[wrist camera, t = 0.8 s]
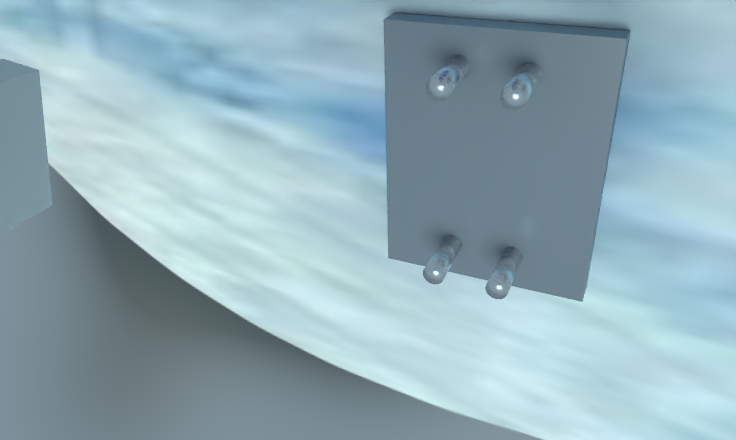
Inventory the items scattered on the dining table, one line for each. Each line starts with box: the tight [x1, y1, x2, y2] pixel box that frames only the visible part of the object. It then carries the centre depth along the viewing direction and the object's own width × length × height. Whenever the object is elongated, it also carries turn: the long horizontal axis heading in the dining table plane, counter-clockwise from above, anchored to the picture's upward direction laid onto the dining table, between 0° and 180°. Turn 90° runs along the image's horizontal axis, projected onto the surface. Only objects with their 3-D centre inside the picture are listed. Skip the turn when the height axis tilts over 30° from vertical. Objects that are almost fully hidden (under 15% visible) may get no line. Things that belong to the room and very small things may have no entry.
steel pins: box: [423, 55, 542, 299], centre depth 34 cm, size 5×12×4 cm, turn 3°
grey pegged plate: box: [384, 13, 630, 301], centre depth 36 cm, size 12×15×2 cm
